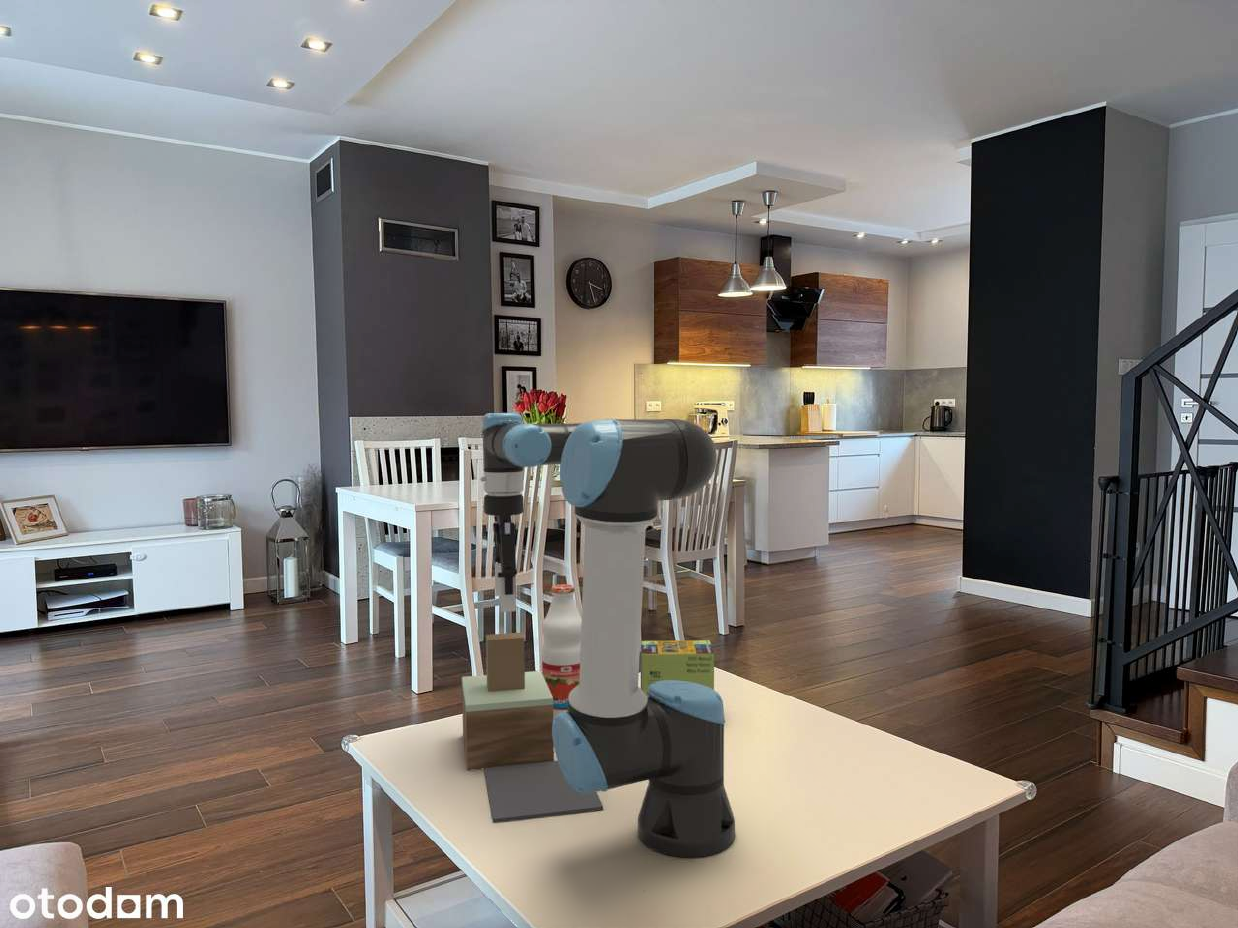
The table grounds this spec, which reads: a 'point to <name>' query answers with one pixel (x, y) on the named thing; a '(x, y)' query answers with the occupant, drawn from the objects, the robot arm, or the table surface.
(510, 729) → the box
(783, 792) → the table surface
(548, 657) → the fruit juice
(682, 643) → the protein box
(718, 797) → the robot arm
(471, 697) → the lid
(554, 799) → the mat
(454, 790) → the table surface
